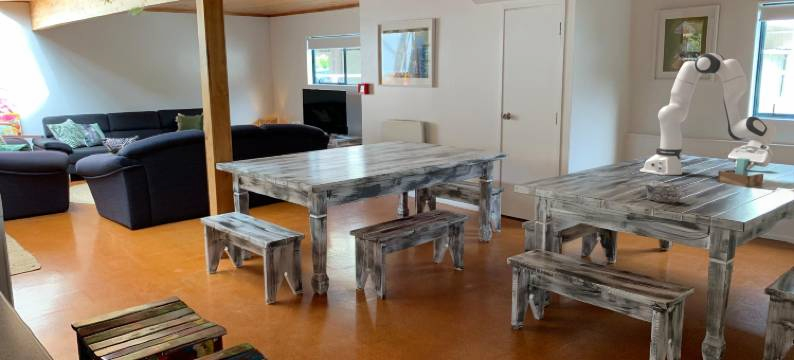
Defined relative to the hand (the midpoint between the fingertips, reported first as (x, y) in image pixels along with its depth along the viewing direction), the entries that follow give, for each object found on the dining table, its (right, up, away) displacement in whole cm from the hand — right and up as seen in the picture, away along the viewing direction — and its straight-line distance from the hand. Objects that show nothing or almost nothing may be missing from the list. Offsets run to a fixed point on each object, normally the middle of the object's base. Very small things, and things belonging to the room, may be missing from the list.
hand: (741, 169), depth 321 cm
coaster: (+7, -10, -10) cm, 16 cm away
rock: (-56, -16, -36) cm, 68 cm away
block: (+1, -6, +2) cm, 7 cm away
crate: (0, -8, +1) cm, 8 cm away
